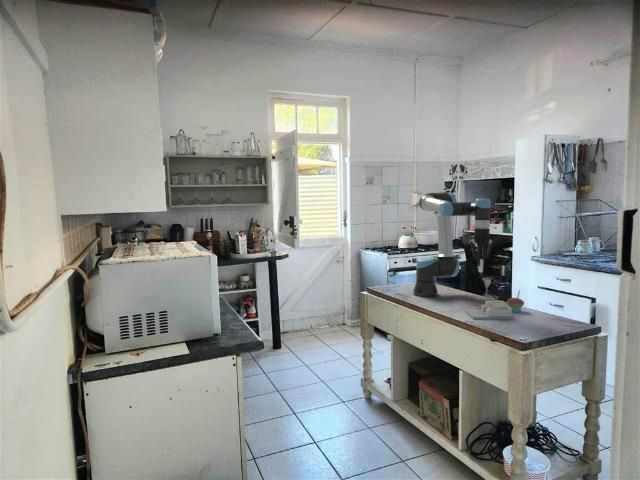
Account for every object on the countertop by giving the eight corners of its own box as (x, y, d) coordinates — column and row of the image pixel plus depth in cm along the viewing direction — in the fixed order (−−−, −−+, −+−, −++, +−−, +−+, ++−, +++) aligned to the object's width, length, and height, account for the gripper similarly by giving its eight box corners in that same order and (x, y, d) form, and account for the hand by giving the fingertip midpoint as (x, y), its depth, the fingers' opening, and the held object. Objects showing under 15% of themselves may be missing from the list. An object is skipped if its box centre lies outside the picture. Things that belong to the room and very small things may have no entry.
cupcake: (524, 310, 225) (525, 288, 224) (523, 313, 218) (523, 291, 217) (507, 308, 230) (507, 286, 228) (505, 311, 222) (505, 289, 221)
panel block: (485, 312, 218) (485, 301, 217) (502, 312, 217) (503, 301, 216) (488, 314, 213) (488, 303, 212) (506, 315, 212) (506, 303, 212)
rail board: (464, 311, 223) (465, 302, 223) (503, 311, 222) (503, 302, 222) (472, 319, 209) (473, 309, 209) (513, 319, 208) (514, 309, 208)
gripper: (471, 228, 217) (469, 273, 219) (497, 228, 216) (495, 273, 218) (467, 227, 224) (466, 270, 227) (492, 227, 223) (491, 270, 226)
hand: (480, 271), depth 222 cm, fingers closed
